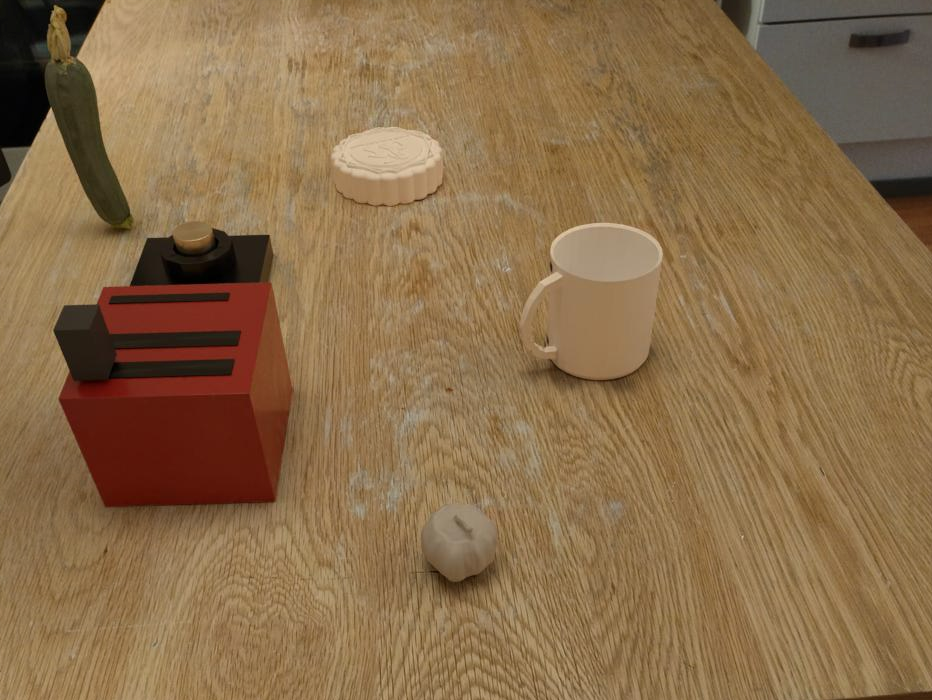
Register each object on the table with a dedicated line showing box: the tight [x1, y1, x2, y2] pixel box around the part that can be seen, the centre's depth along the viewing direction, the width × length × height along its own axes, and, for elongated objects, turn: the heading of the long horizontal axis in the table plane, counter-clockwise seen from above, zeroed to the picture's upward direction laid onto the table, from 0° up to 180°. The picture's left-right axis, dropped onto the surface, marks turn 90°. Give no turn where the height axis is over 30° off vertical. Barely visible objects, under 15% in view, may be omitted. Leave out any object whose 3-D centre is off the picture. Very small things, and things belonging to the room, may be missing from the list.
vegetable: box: [44, 4, 135, 230], centre depth 92 cm, size 4×4×20 cm
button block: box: [129, 227, 275, 286], centre depth 91 cm, size 12×10×4 cm
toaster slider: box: [52, 303, 117, 381], centre depth 65 cm, size 2×3×4 cm
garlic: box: [420, 501, 499, 583], centre depth 67 cm, size 6×5×5 cm
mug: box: [519, 222, 664, 381], centre depth 81 cm, size 12×9×9 cm
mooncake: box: [330, 126, 444, 207], centre depth 104 cm, size 12×12×4 cm
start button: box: [172, 220, 216, 257], centre depth 89 cm, size 4×4×2 cm
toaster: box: [58, 281, 294, 508], centre depth 74 cm, size 13×14×10 cm
